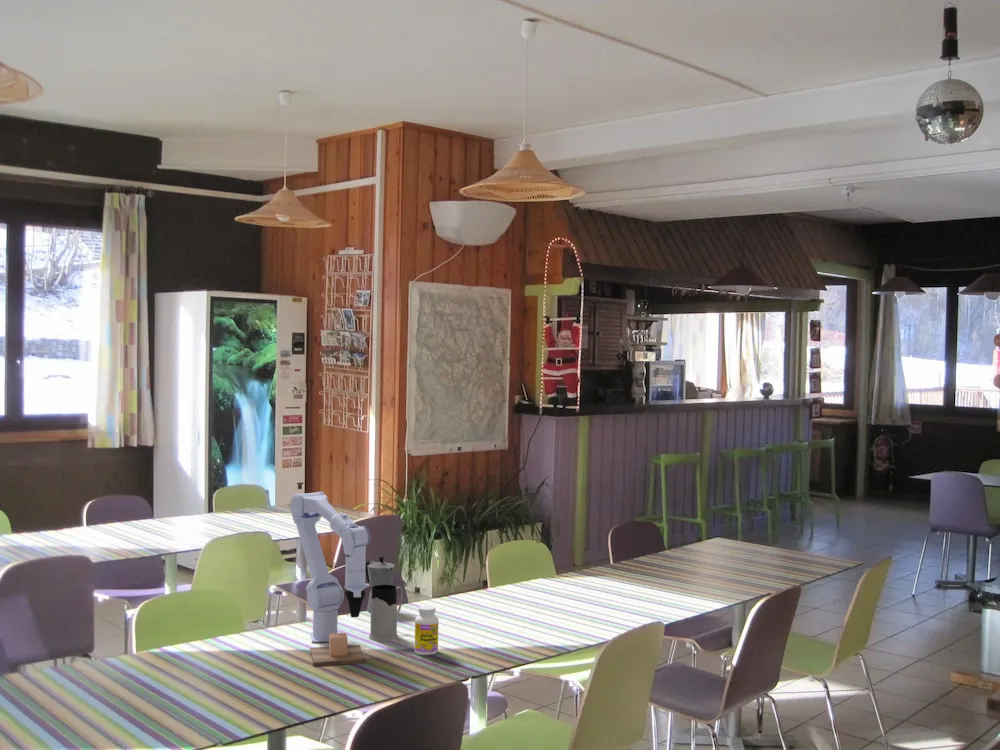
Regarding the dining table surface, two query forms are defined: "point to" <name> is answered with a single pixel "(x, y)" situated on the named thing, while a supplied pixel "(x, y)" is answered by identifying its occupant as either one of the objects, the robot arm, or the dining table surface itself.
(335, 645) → the peach tilted cube
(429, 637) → the supplement bottle
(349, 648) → the post base
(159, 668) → the dining table surface
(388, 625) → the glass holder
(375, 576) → the coffeepot
